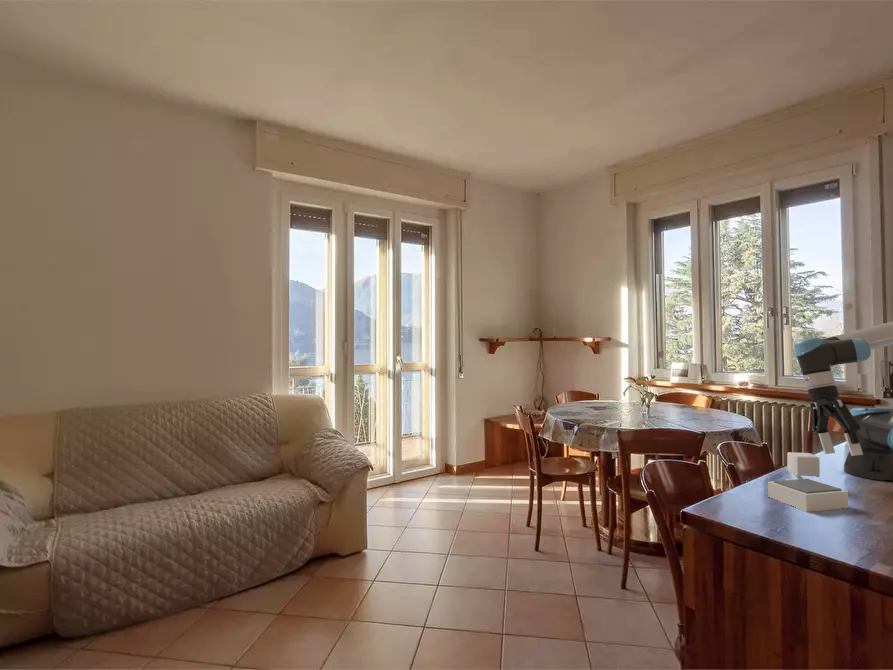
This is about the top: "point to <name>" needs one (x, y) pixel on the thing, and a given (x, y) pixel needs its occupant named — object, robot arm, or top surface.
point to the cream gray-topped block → (808, 494)
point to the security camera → (803, 464)
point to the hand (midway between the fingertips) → (843, 454)
